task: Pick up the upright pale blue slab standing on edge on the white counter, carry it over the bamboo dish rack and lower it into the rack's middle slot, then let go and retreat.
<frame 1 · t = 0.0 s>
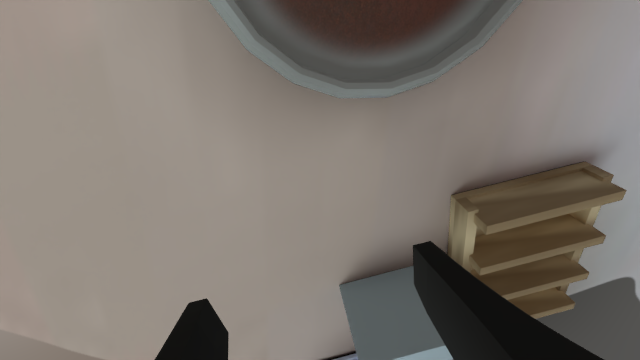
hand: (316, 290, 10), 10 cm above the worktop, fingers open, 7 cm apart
rack: (505, 243, 26), on the worktop
upright pale blue slab: (383, 281, 26), on the worktop
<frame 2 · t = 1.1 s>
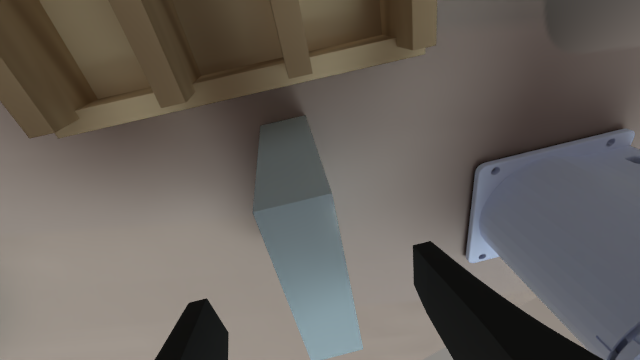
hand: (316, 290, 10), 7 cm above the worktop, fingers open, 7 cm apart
upright pale blue slab: (301, 188, 16), on the worktop
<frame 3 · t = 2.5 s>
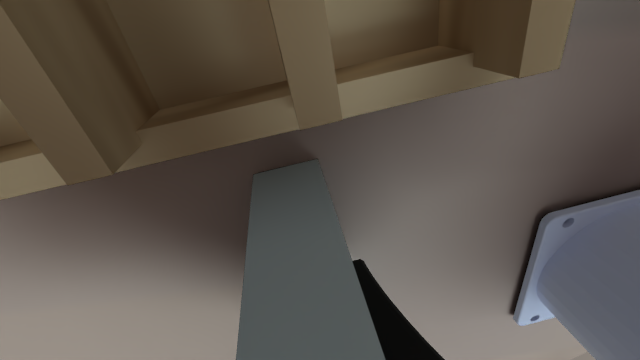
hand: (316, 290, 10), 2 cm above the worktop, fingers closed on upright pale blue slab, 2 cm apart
upright pale blue slab: (309, 251, 12), on the worktop, touching gripper
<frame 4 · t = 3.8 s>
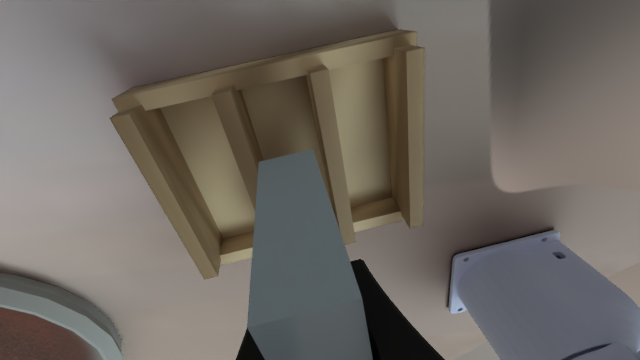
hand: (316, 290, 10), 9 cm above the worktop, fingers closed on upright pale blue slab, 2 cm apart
rack: (292, 152, 18), on the worktop
upright pale blue slab: (307, 230, 13), point 6 cm above the worktop, touching gripper
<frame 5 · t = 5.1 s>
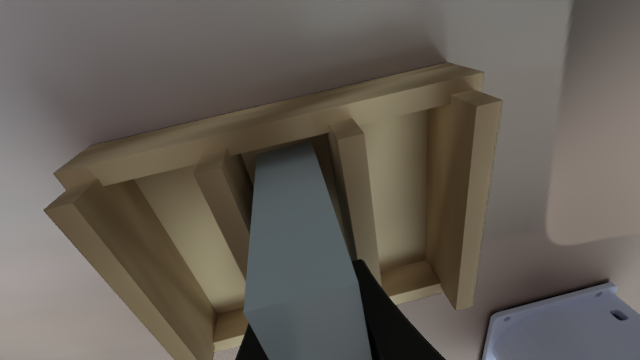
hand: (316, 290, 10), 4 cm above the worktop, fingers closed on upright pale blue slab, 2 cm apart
rack: (303, 213, 14), on the worktop
upright pale blue slab: (305, 223, 13), point 1 cm above the worktop, touching gripper, rack
when the fingers open (4 cm above the worktop, at t = 5.3 s): upright pale blue slab stays where it is, resting on rack.
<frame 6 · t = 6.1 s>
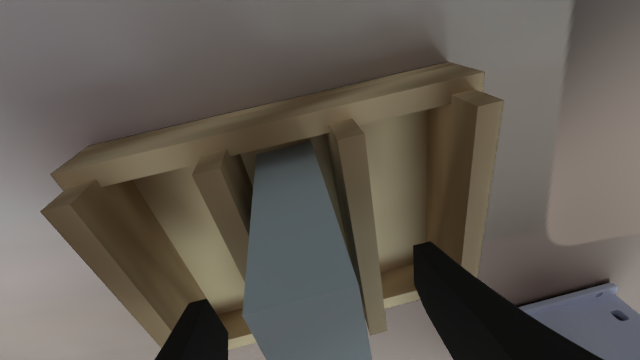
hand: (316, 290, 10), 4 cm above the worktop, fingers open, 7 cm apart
rack: (303, 214, 14), on the worktop
upright pale blue slab: (305, 224, 13), point 1 cm above the worktop, touching rack
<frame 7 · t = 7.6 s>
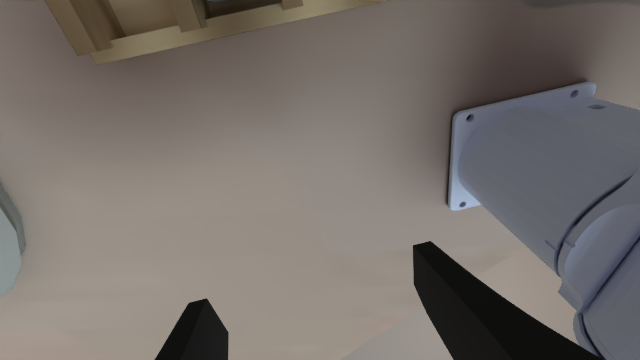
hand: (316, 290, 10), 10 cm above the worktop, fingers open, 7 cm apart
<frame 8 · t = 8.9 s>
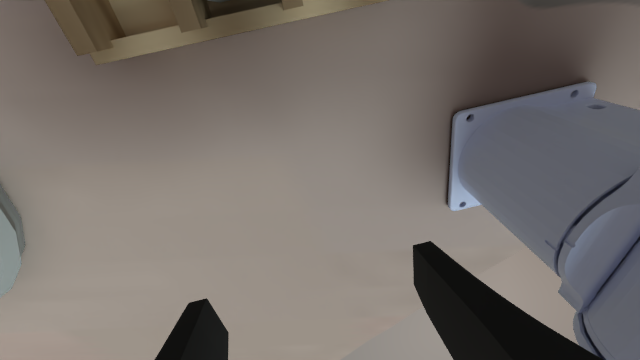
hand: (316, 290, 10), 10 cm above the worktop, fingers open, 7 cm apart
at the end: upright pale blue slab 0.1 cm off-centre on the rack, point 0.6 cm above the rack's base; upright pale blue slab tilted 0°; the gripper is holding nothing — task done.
